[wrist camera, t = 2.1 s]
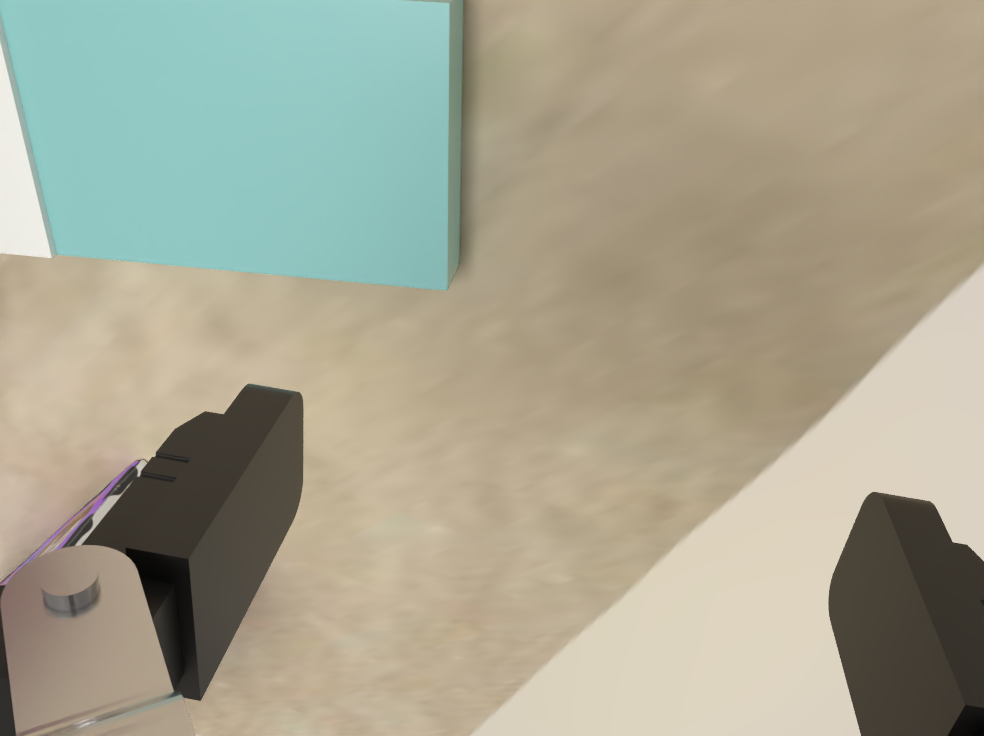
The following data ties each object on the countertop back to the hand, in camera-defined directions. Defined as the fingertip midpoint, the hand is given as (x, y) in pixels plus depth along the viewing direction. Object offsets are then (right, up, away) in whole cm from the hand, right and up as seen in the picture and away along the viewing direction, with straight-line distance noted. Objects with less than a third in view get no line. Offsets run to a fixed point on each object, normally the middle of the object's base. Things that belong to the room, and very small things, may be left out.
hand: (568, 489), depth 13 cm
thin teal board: (-10, +10, +18) cm, 23 cm away
